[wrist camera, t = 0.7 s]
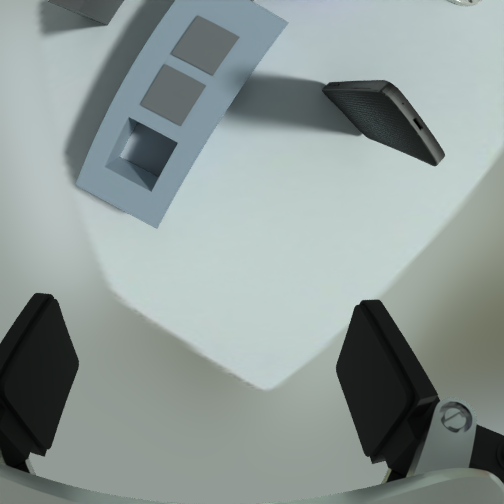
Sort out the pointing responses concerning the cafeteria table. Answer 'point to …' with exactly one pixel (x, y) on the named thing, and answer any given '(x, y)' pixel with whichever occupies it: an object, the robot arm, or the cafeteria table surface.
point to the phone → (385, 117)
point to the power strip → (177, 98)
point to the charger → (92, 8)
